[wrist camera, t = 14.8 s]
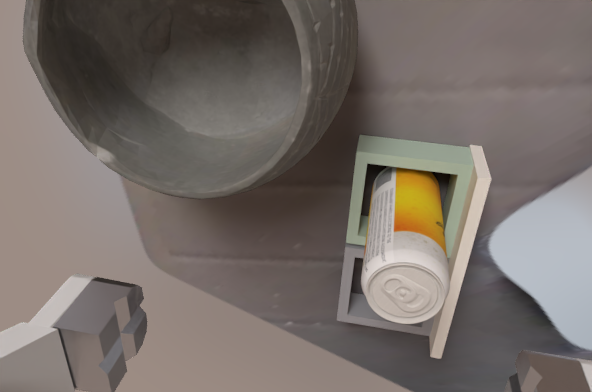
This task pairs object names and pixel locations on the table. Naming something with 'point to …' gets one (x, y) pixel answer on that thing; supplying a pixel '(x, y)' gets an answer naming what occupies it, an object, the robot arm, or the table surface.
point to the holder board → (456, 219)
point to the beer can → (405, 247)
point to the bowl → (194, 84)
